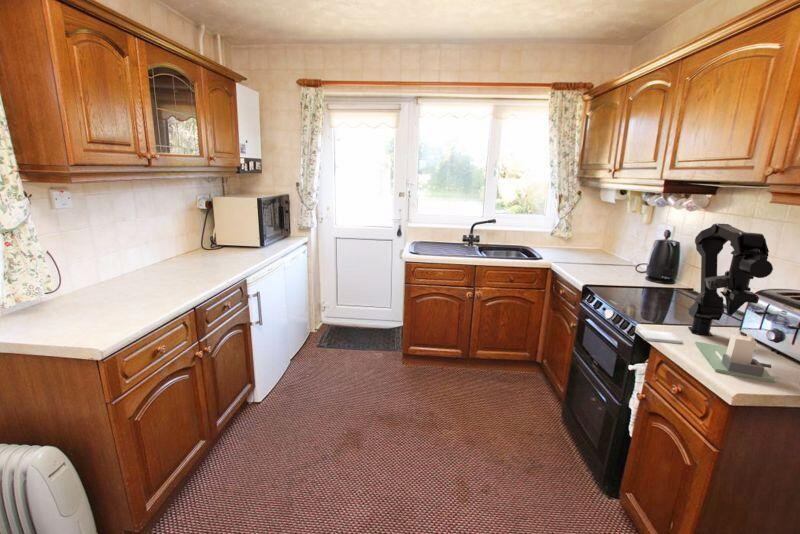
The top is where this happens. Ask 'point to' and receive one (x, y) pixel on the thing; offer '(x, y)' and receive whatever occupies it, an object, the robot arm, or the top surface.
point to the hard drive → (658, 336)
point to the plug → (742, 349)
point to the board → (715, 358)
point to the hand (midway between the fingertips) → (729, 314)
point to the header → (743, 366)
